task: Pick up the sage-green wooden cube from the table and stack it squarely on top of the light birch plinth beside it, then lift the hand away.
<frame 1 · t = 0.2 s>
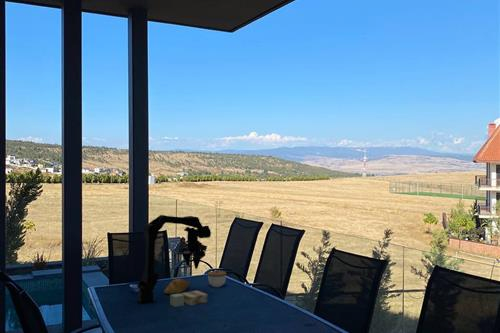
hand: (192, 267, 257), 14 cm above the table, tool pointing down, fingers open, 9 cm apart
sage cube: (176, 305, 234), on the table
croissant: (176, 291, 263), on the table
birch plinth: (194, 301, 241), on the table
lidded jar: (217, 286, 274), on the table
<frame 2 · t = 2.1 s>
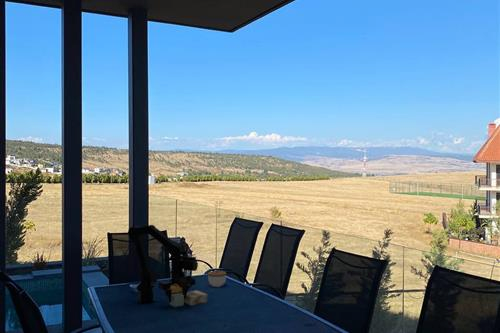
hand: (177, 300, 234), 2 cm above the table, tool pointing down, fingers open, 7 cm apart
nothing on the table moved.
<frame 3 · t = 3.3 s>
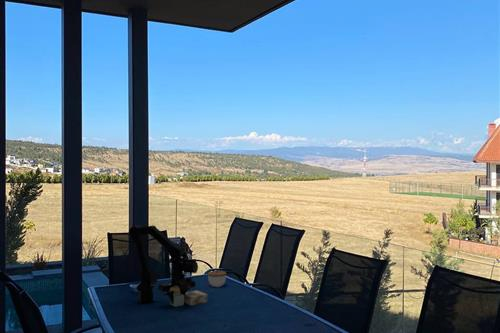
hand: (177, 302, 234), 1 cm above the table, tool pointing down, fingers closed on sage cube, 5 cm apart
sage cube: (177, 304, 234), on the table, touching gripper
everything else where it was.
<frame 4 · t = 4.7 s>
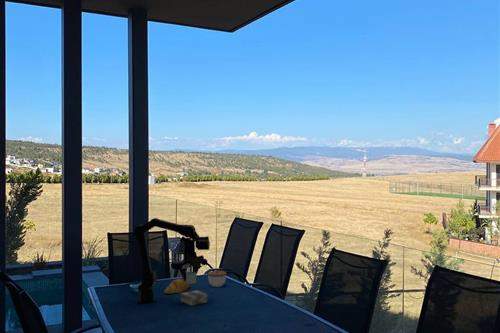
hand: (189, 280, 239), 11 cm above the table, tool pointing down, fingers closed on sage cube, 5 cm apart
sage cube: (189, 282, 238), point 10 cm above the table, touching gripper
everything else where it was.
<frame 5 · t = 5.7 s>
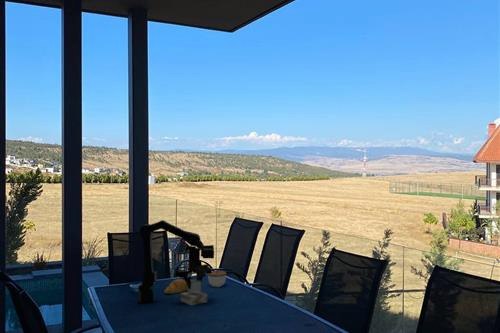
hand: (193, 288, 241), 7 cm above the table, tool pointing down, fingers closed on sage cube, 5 cm apart
sage cube: (193, 290, 241), point 6 cm above the table, touching gripper
everything else where it was.
when the fingers open (6 cm above the table, at t = 6.5 s): sage cube drops 1 cm, resting on birch plinth.
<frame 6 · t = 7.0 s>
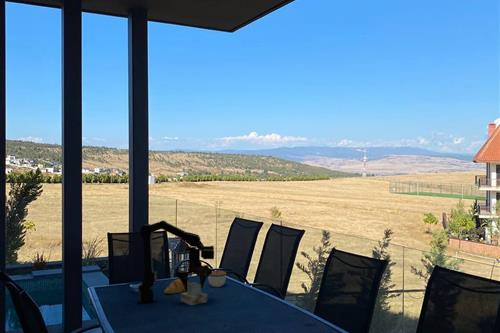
hand: (194, 289, 241), 6 cm above the table, tool pointing down, fingers open, 9 cm apart
sage cube: (194, 293, 241), point 4 cm above the table, touching birch plinth
everything else where it was.
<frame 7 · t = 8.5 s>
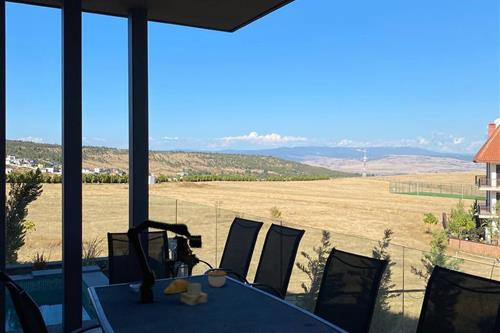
hand: (181, 277, 243), 12 cm above the table, tool pointing down, fingers open, 9 cm apart
nothing on the table moved.
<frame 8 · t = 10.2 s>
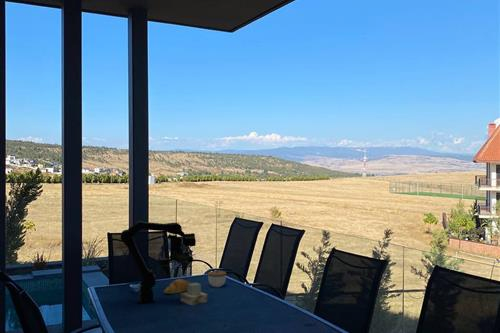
hand: (175, 276, 244), 12 cm above the table, tool pointing down, fingers open, 9 cm apart
at the end: sage cube 0.0 cm off-centre on the birch plinth, point 4.0 cm above the birch plinth's base; sage cube tilted 0°; the gripper is holding nothing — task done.
